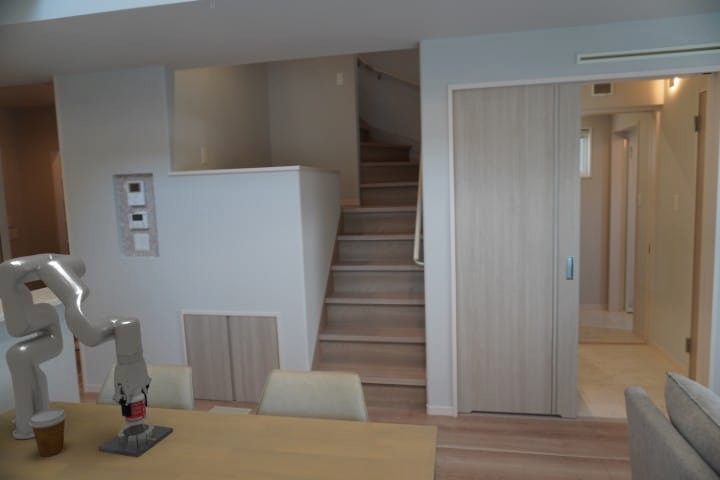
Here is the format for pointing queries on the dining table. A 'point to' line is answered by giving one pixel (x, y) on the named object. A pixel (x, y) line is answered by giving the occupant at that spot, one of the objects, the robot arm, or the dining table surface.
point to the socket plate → (137, 448)
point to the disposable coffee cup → (49, 431)
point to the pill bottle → (137, 408)
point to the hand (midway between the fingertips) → (135, 410)
